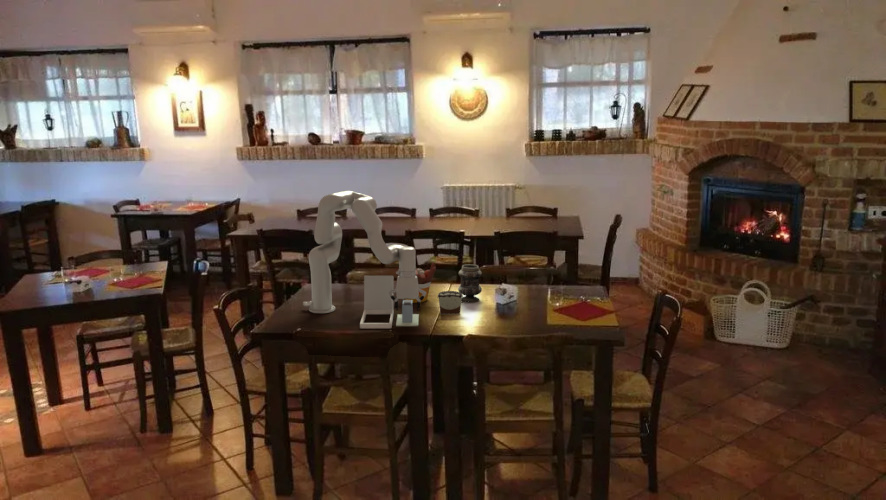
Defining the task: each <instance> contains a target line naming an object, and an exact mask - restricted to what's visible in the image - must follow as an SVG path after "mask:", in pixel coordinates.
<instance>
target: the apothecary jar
mask: <svg viewBox="0 0 886 500" xmlns="http://www.w3.org/2000/svg"><path fill="white" fill-rule="evenodd" d="M458 276H459V277H460V285H459V286H458V287H457V290H458V291H457V292H460V293H462V295H463V298H462V300H461V303H462V302H463V303H468V304H469V303H470V304H471V303H472V304H473V303H477V302H479V301H480V298H479V297H477V296H478V295H480V294H481V293H482V291H483V289H482V286H481V285H480V278H481V277H482V271H481V269H480V267H479V265H478V264H462V266H461V269H460V270H459V271H458Z"/></svg>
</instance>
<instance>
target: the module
mask: <svg viewBox="0 0 886 500" xmlns="http://www.w3.org/2000/svg"><path fill="white" fill-rule="evenodd" d="M413 304H414V303H413V300H405V299H402V304H401V312H402V313H401V314H402V322H412V319H413V314H414V309H413V307H414V306H413Z"/></svg>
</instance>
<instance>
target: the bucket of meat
mask: <svg viewBox="0 0 886 500" xmlns="http://www.w3.org/2000/svg"><path fill="white" fill-rule="evenodd" d="M397 271H399V268H398V270H397ZM436 271H437V266H436V263H435V262H432V263H431V265H430V269H426V270H425V271H424V270H421V269H420V268H416V276H417V279H418V288H419V289H421V290H423V291H425V292H426V295H425V297H424V299H423V300H421V302H420V304H421V303H425V302H426V301H427V300H428V297H429V292H430V287H431V283H432V279H433V277H434V274H435V272H436ZM418 296H419V297H421V296H422V293H420V292H419V295H418ZM404 300H413V304H417V299H404Z"/></svg>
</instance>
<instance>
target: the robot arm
mask: <svg viewBox="0 0 886 500" xmlns="http://www.w3.org/2000/svg"><path fill="white" fill-rule="evenodd" d="M317 205H318V207H317V215H316V221H315V227H314V233H313V234H314V241H315V242H316V244H318V245H319V246H314V248H312V249H311V250H310V251H309V253H308V264H309V267H310V268H309V270H310V282H311V283H310V284H311V300H310V301H303V302H302V306H304V307H309V308H308V312H310V313H311V314H312V313H313V314H329V313H332V312H334V311H336V306H335V305H334V304H333V299H332V298H333V296H332V292H333V291H332V274H331V269H330V266H329V264H330V263H333V262H335V261H336V260H338V258H339V256H340V251H341V246H342V245H341V244H342V240H343V230H342V227H341V225H340V224H338V222H336V213H335V212H339V211H343V210H347V209H350V210H351V211H352V213H353V214H354V216H355V217H356V219H357V220H358V222H359V223H360V225H361V227H362V228H363V229H364V231H365V232H366V234H367V240H368V244H369V248H370V249H371V251H372V253H373V254H374V256H375V257H376V258H377V259H378V261H380V263H382V264H384V265H390V264H392V263H394V262H397V261H398V265H399V266H398V269H399V271H398V270H395V274H396V275H398V276H397V278H396V285H395V286H396V287H395V288H394V290H392V291H390V292H389V295H390V297H391V299H392V300H393V301H394V309H396V311H398V310H399V299H400V300H401V299H402V300H405V299H417V303H416V310H417V311H420V309H421V303H420V302H421V300H423V299H424V297H425V295H426V292H425V291H423V290H421V289H419V288H418V279H417V276H416V269H417V267H416V261H417V260H416V259H417V258H416V255H417V253H416V251H417V250H416V248H415V247H414V246H404V245H400V244H395V243H393V244H391V245H388V246H387V244H386V242H385V241H384V239H383V236H382V228H383V221H382V220H381V218H380V217H379V216H378V214H377V212H376V210H377V207H378V206H377V205H378V204H377V201H376V200H375V199H374V197H372V196H370V195H367V194H364V193H359V192H357V191H356V192H355V191H352V190H343V191H337V192H333V193H330V194H329V193H328V194H326V195H324V196H322V197H321V198H320V200H319V203H318V204H317ZM419 292H420V293H422V296H421V297H419V296H418V295H419ZM393 293H394V294H396V296H395V295H394V296H393Z"/></svg>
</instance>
